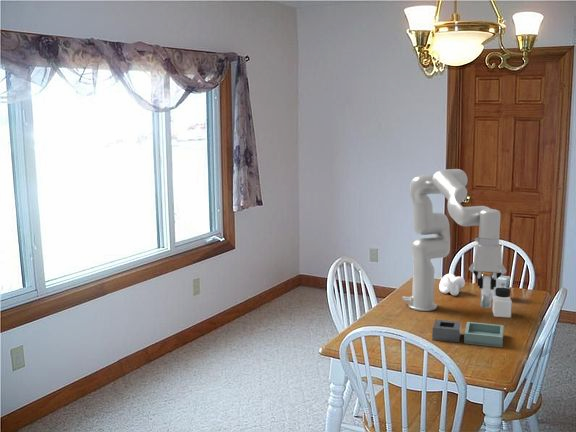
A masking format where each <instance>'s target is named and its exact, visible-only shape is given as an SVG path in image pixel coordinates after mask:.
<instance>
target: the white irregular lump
mask: <svg viewBox="0 0 576 432" xmlns="http://www.w3.org/2000/svg"><path fill="white" fill-rule="evenodd" d="M465 285H466V282H465V278H463V276H460V275H459V276H456V275H455V274H454V273H447V274H445V275H443V276H442V277H441V279H440V282H439V284H438V286H439V287H438V288H439V292H441V294H444V295H445V294H448V293H450V294H451V295H452V296H454V297H456V296H458V295H459V294H460V292H461V290H462V289H464V287H465Z"/></svg>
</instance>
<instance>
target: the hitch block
mask: <svg viewBox="0 0 576 432" xmlns="http://www.w3.org/2000/svg"><path fill="white" fill-rule="evenodd" d="M461 333H462V321H455V320H445V319H435V320H434V323H433V326H432V336H431V338H432V339H431V340H432V341H441V342H448V343H449V342H450V343H458V344H459V342H460V338H461Z"/></svg>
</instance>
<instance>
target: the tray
mask: <svg viewBox="0 0 576 432" xmlns="http://www.w3.org/2000/svg"><path fill="white" fill-rule="evenodd" d="M504 327H505V326H504V324H493V323H483V322H473V321H467V322H466V325H465V330H464V336H463V338H464V339H463V344H468V345H469V344H470V345H475V346H476V345H477V346H486V347H493V348H494V347H495V348H496V347H497V348H503V343H504V341H503V339H504Z"/></svg>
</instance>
